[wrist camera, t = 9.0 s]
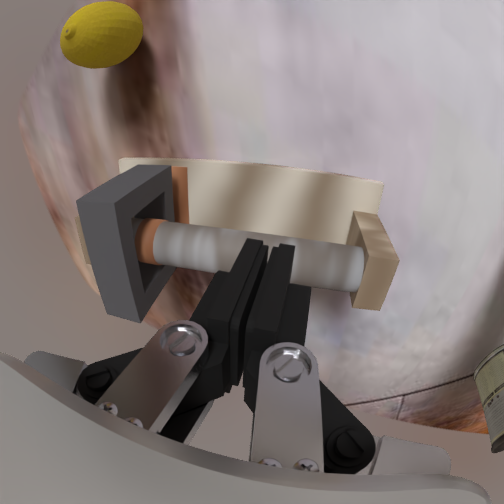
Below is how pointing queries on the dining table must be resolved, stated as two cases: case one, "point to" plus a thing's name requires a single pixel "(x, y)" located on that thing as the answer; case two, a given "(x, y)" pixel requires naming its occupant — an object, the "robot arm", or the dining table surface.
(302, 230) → the pipe stand
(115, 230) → the grey frame
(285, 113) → the dining table surface
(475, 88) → the dining table surface
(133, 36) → the lemon
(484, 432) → the dining table surface
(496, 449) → the coffee can
